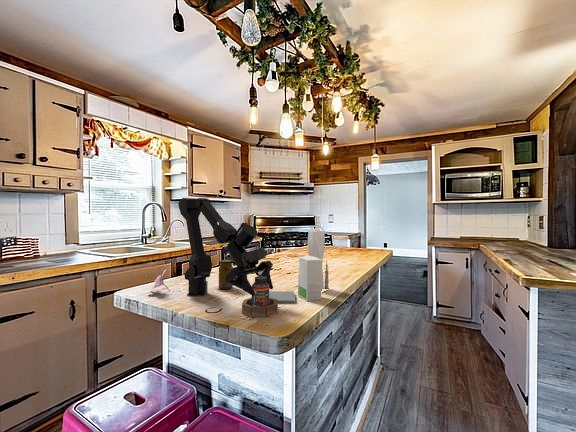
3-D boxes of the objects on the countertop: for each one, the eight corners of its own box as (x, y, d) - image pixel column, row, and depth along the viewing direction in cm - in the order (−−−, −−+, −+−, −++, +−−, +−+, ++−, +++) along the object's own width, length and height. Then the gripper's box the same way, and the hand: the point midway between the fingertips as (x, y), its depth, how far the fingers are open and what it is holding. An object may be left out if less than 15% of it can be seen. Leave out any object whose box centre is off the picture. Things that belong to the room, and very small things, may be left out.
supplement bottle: (255, 315, 90) (255, 280, 90) (248, 309, 95) (248, 276, 95) (272, 312, 93) (272, 278, 93) (265, 306, 98) (265, 274, 98)
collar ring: (240, 317, 88) (240, 307, 88) (245, 305, 100) (245, 296, 100) (277, 317, 88) (277, 307, 88) (277, 305, 100) (278, 296, 100)
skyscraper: (321, 294, 115) (322, 225, 114) (303, 291, 119) (304, 225, 118) (329, 289, 122) (329, 225, 122) (312, 287, 126) (312, 224, 126)
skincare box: (297, 295, 112) (297, 256, 112) (312, 293, 114) (312, 255, 114) (307, 301, 104) (307, 259, 104) (322, 299, 107) (323, 258, 107)
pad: (262, 303, 102) (262, 300, 102) (264, 293, 114) (264, 291, 114) (295, 303, 102) (295, 300, 102) (293, 293, 114) (293, 291, 114)
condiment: (229, 285, 127) (229, 258, 127) (238, 289, 121) (238, 261, 121) (214, 287, 123) (214, 260, 123) (223, 292, 116) (223, 263, 116)
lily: (160, 289, 123) (148, 272, 120) (184, 280, 121) (172, 262, 119) (147, 306, 112) (134, 287, 109) (173, 296, 110) (160, 276, 107)
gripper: (231, 242, 88) (258, 282, 82) (269, 238, 104) (293, 272, 98) (214, 264, 93) (238, 304, 87) (252, 257, 108) (275, 291, 102)
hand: (263, 291), depth 93 cm, fingers open, 9 cm apart
